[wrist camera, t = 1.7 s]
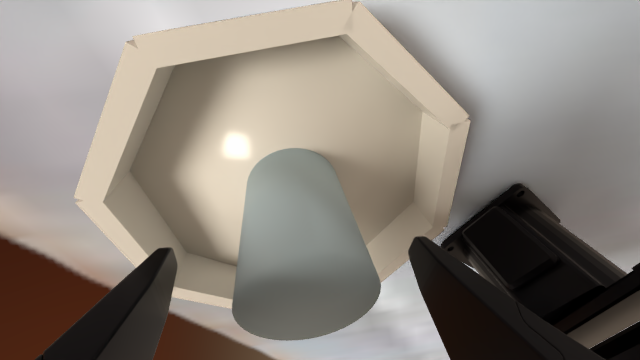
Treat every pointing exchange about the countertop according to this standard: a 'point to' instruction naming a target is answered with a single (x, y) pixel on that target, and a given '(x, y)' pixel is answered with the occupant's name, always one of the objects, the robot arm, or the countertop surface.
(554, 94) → the countertop surface
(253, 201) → the peg
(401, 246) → the bowl
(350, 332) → the countertop surface
